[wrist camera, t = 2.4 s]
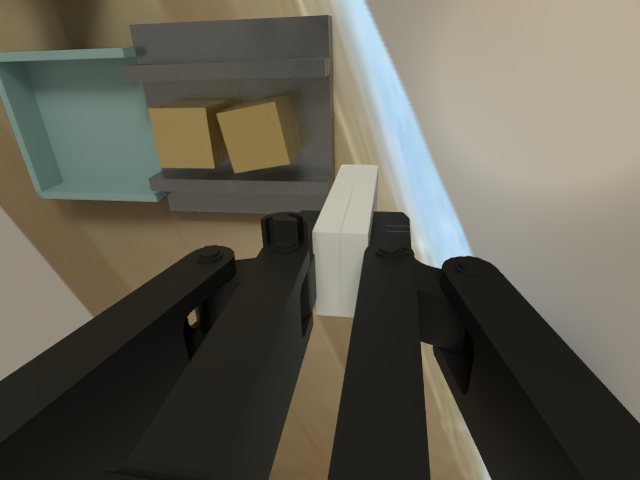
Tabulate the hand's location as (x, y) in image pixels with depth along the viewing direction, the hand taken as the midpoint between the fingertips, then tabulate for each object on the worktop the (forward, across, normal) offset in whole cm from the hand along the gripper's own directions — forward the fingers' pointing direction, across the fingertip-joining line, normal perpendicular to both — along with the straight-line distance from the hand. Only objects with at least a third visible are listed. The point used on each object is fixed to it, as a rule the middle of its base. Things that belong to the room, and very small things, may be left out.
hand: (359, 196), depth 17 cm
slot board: (+15, -10, 0) cm, 18 cm away
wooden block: (+13, -13, 0) cm, 18 cm away
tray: (+15, -23, 0) cm, 27 cm away
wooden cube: (+13, -8, 0) cm, 15 cm away
